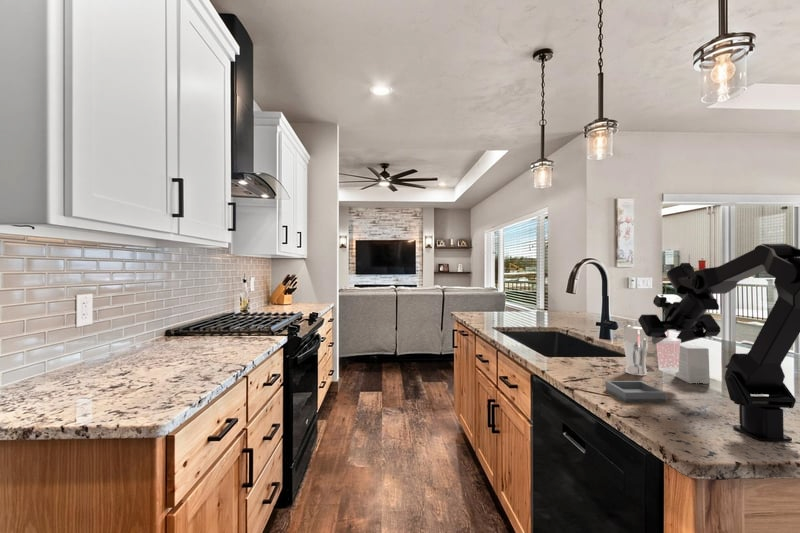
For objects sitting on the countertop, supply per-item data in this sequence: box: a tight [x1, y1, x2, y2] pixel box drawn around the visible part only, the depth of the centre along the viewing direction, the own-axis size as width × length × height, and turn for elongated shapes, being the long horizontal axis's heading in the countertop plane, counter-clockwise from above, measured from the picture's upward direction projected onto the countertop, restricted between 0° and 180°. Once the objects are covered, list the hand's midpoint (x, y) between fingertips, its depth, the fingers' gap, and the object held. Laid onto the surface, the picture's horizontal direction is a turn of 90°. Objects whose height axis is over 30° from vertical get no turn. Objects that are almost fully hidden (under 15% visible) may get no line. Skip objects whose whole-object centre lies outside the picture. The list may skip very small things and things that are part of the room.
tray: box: [605, 380, 666, 403], centre depth 102 cm, size 10×10×2 cm
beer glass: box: [622, 325, 649, 377], centre depth 124 cm, size 7×7×15 cm
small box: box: [674, 342, 711, 385], centre depth 116 cm, size 8×6×10 cm
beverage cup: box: [655, 330, 681, 374], centre depth 108 cm, size 6×6×14 cm
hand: (664, 342), depth 109 cm, fingers closed on beverage cup, 6 cm apart
